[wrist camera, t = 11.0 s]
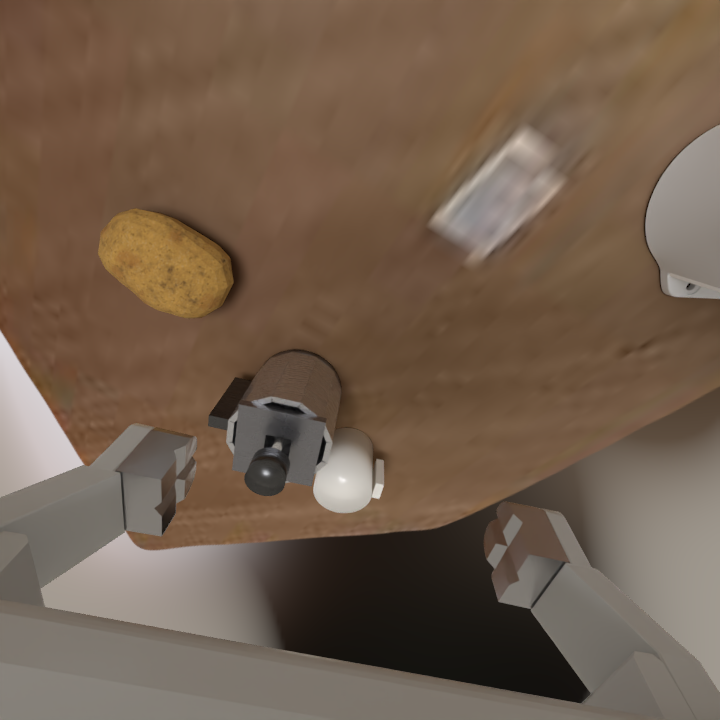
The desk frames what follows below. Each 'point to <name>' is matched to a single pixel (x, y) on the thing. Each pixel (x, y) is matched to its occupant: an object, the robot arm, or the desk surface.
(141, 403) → the desk surface
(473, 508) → the desk surface
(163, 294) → the potato
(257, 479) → the plunger
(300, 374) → the carafe
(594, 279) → the desk surface
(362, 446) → the white ceramic cylinder
